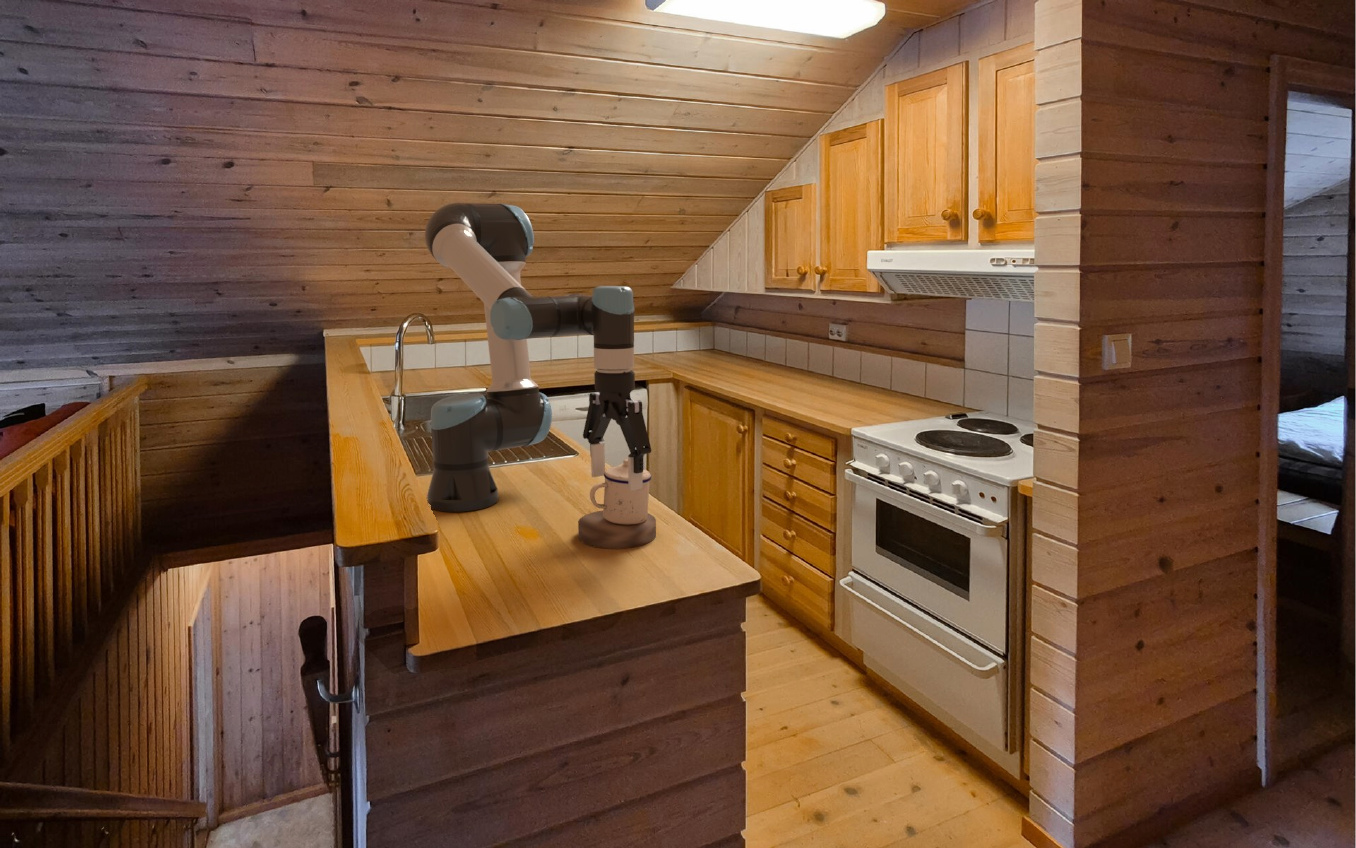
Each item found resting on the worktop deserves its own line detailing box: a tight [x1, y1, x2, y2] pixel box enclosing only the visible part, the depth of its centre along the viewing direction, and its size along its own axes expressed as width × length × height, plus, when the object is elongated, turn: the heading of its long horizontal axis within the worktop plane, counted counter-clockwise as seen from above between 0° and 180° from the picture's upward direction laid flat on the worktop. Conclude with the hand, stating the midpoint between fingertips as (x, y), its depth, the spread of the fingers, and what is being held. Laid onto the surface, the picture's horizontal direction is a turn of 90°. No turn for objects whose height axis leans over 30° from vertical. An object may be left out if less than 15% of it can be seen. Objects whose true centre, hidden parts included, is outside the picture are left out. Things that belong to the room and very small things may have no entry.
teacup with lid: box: [589, 458, 652, 525], centre depth 163 cm, size 12×9×12 cm
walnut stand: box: [577, 510, 657, 550], centre depth 165 cm, size 15×15×3 cm
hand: (616, 482), depth 163 cm, fingers open, 11 cm apart
